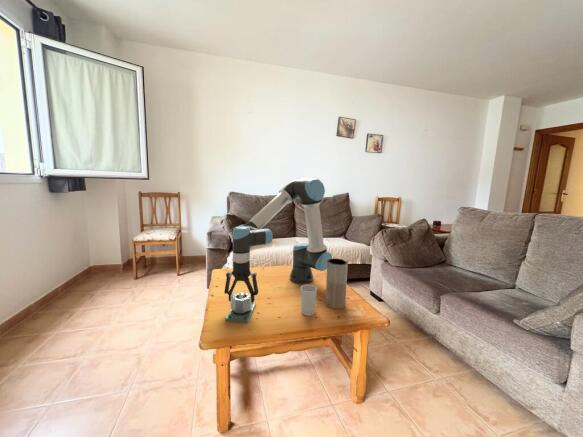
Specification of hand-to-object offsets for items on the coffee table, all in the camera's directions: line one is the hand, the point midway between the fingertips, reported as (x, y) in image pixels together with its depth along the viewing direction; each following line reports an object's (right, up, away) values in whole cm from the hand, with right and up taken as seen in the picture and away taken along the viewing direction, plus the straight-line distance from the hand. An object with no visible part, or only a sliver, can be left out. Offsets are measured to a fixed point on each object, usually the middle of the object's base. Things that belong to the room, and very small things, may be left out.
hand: (241, 307), depth 111 cm
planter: (+46, -2, +10) cm, 47 cm away
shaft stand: (0, -2, 0) cm, 2 cm away
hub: (0, 0, 0) cm, 0 cm away
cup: (+31, -3, +2) cm, 31 cm away
